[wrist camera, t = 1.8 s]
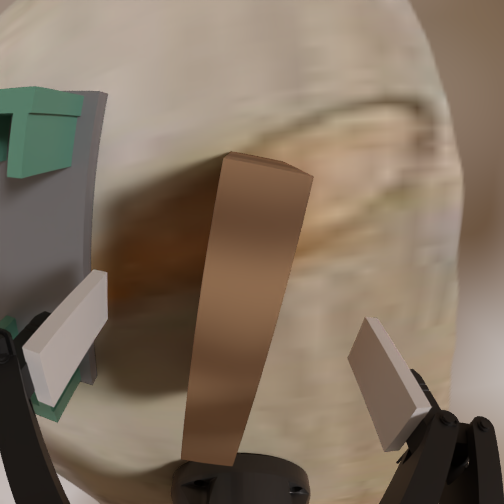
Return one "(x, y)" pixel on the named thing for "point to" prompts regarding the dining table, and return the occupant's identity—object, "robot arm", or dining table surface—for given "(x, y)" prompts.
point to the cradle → (47, 208)
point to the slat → (240, 298)
